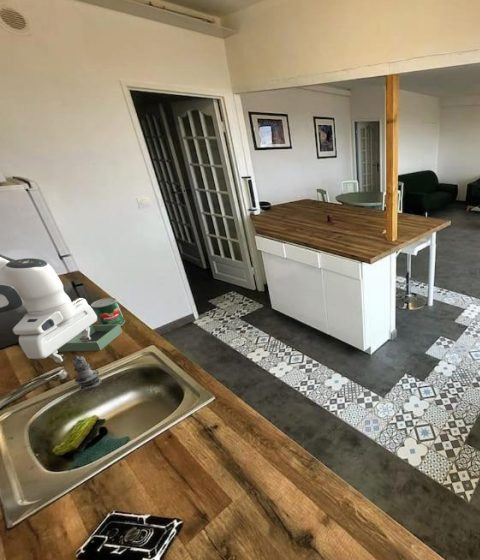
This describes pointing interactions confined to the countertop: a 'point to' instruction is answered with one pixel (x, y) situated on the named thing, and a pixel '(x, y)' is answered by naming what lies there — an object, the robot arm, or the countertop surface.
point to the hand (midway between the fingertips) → (74, 350)
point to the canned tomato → (108, 311)
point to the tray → (93, 338)
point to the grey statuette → (85, 374)
